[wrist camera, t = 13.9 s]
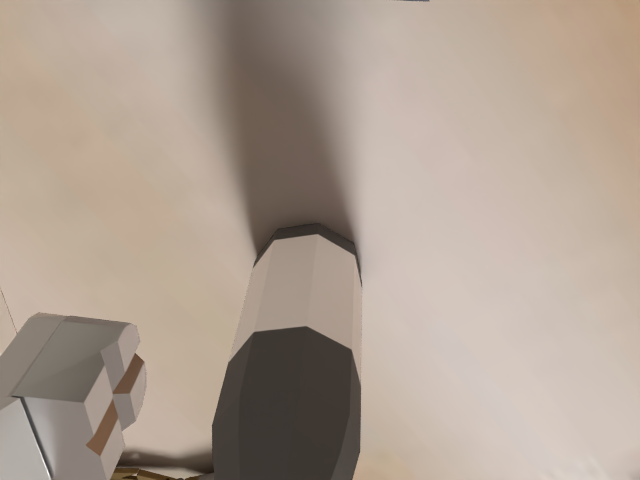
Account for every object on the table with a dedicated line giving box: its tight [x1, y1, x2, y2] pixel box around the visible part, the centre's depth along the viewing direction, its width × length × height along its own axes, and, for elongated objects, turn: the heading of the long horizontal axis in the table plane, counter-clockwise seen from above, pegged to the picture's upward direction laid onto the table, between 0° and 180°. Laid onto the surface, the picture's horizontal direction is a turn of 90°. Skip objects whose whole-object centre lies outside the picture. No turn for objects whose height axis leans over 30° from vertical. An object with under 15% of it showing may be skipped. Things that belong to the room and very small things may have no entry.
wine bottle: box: [212, 223, 362, 480], centre depth 32 cm, size 8×8×30 cm
